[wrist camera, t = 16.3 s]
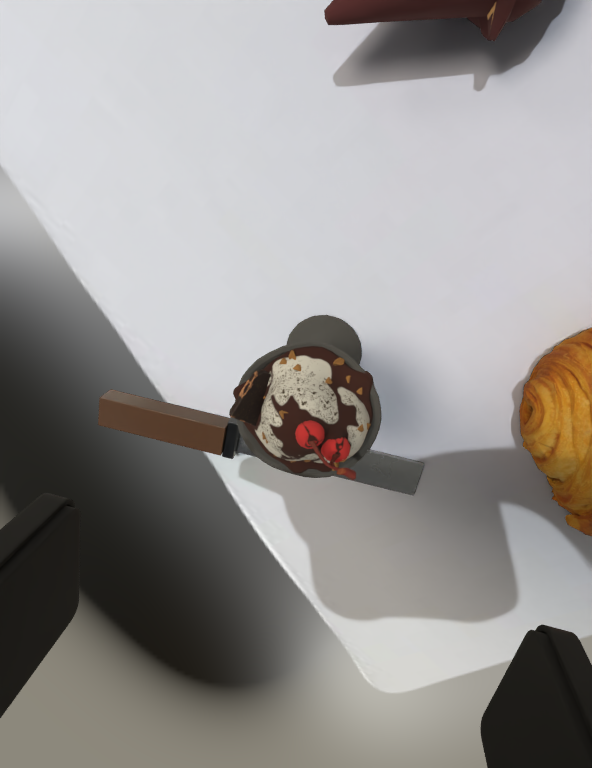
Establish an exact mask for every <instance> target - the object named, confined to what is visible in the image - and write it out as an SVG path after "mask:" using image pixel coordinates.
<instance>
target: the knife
mask: <svg viewBox="0 0 592 768" xmlns="http://www.w3.org/2000/svg"><path fill="white" fill-rule="evenodd" d="M98 425H100V426H104V427H108V428H112V429H116V430H120V431H124V432H128V433H133V434H136V435H140V436H144V437H148V438H152V439H156V440H160V441H164V442H168V443H173V444H177V445H181V446H185V447H189V448H193V449H197V450H201V451H205V452H209V453H213V454H217V455H221V454H222V453H223V454H222V456H223V457H227V458H231V459H233V458H234V456H235V454H236V452H239V453H243V454H247V455H251V456H255V455H254V454H253V453H252V452H251V450H250V449H249V448H248V446H247V445H246V444H245V442H244V440H243V438H242V436H241V434H240V433H239V429H238V425H237V421H236V419H235V418H232V417H231V418H227V417H223V416H218V415H214V414H210V413H206V412H202V411H198V410H194V409H190V408H186V407H181V406H177V405H173V404H169V403H165V402H161V401H156V400H153V399H148V398H144V397H140V396H136V395H132V394H128V393H124V392H119V391H116V390H112V389H111V390H109V391H108V392H107V393H105V394H104V395H103V396H101V397H100V401H99V422H98ZM255 457H257V456H255ZM423 467H424V463H423V462H419V461H415V460H410V459H406V458H402V457H398V456H394V455H390V454H386V453H382V452H378V451H373V450H369V451H368V452H367V453H366V454H365V455H364V457H363V458H362V459H361V460H359V461H358V462H357V463H356V464H355V465H354V466H353V467H351V468H349V469H352V470H354V471H355V472H356V479H354V480H352V481H356V482H360V483H364V484H369V485H373V486H377V487H381V488H385V489H389V490H393V491H397V492H401V493H405V494H409V495H414V492H415V489H416V487H417V484H418V481H419V478H420V475H421V472H422V470H423ZM333 476H336V477H340V478H344V479H348V480H351V479H349V478H347V477H346V476H345V475H338V474H336V475H333Z"/></svg>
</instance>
